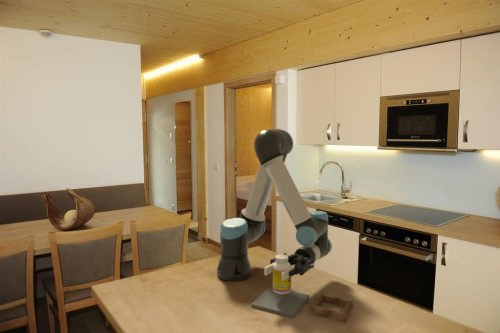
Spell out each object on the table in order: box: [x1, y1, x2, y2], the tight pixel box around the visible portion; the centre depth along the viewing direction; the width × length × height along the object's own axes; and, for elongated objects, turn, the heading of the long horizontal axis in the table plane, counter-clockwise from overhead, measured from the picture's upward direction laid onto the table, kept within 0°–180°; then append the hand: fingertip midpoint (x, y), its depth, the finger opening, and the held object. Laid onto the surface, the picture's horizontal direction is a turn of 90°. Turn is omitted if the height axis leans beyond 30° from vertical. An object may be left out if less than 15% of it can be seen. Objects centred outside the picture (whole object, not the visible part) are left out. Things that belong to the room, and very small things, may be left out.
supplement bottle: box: [272, 253, 292, 294], centre depth 126 cm, size 7×7×13 cm
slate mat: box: [250, 285, 311, 319], centre depth 128 cm, size 16×16×1 cm
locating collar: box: [310, 292, 354, 324], centre depth 122 cm, size 12×12×2 cm
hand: (273, 274), depth 122 cm, fingers closed on supplement bottle, 7 cm apart
